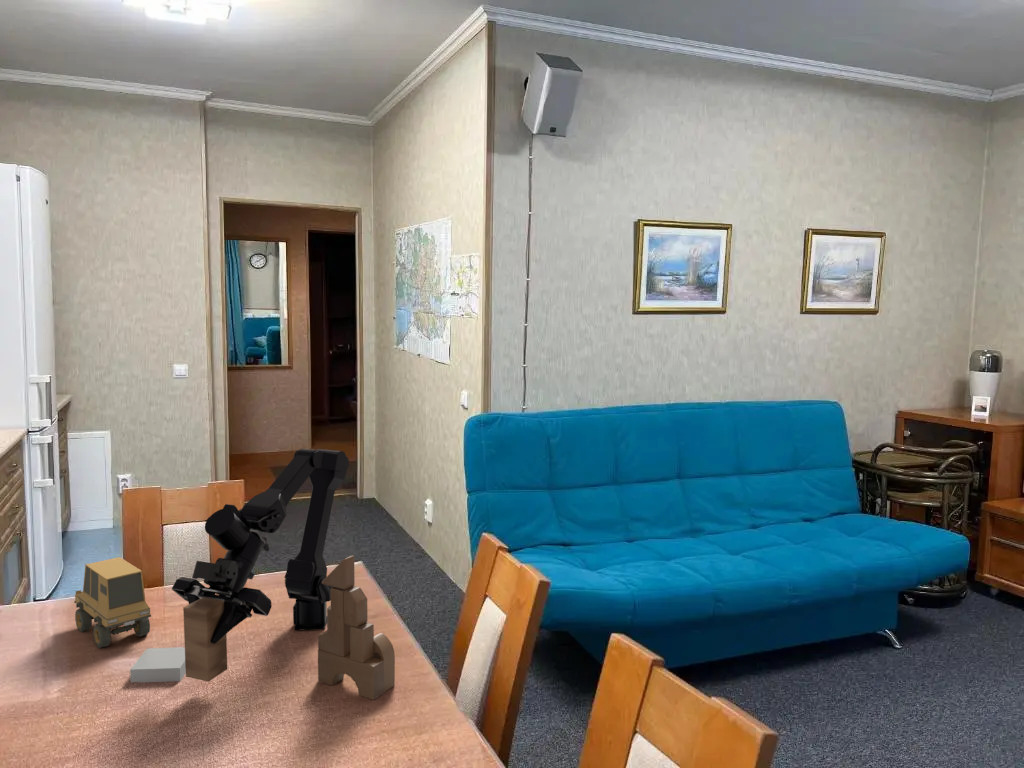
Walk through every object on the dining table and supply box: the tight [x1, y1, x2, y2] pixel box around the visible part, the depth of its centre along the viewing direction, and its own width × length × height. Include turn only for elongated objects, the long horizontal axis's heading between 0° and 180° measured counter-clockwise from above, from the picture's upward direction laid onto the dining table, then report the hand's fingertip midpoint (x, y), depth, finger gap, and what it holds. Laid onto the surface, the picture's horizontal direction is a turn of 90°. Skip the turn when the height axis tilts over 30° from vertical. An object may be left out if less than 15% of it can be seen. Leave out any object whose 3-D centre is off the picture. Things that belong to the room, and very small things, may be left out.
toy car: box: [73, 556, 152, 649], centre depth 168 cm, size 10×19×15 cm, turn 46°
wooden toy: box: [317, 555, 396, 701], centre depth 147 cm, size 15×7×25 cm, turn 60°
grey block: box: [129, 646, 186, 684], centre depth 152 cm, size 9×9×3 cm
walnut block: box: [182, 597, 228, 682], centre depth 142 cm, size 5×5×13 cm
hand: (200, 640), depth 141 cm, fingers closed on walnut block, 5 cm apart
